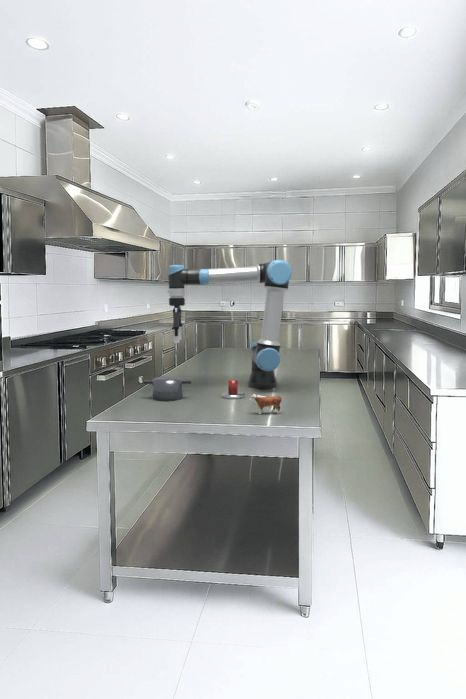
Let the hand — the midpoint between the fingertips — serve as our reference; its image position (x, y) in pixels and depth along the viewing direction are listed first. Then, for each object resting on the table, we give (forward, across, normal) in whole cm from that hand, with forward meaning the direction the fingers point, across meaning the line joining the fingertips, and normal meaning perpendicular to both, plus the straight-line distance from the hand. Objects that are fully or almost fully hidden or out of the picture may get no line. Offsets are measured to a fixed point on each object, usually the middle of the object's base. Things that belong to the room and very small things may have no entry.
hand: (177, 341), depth 268 cm
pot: (+25, +13, -4) cm, 29 cm away
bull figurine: (+26, +44, +39) cm, 64 cm away
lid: (+26, +11, +26) cm, 38 cm away
